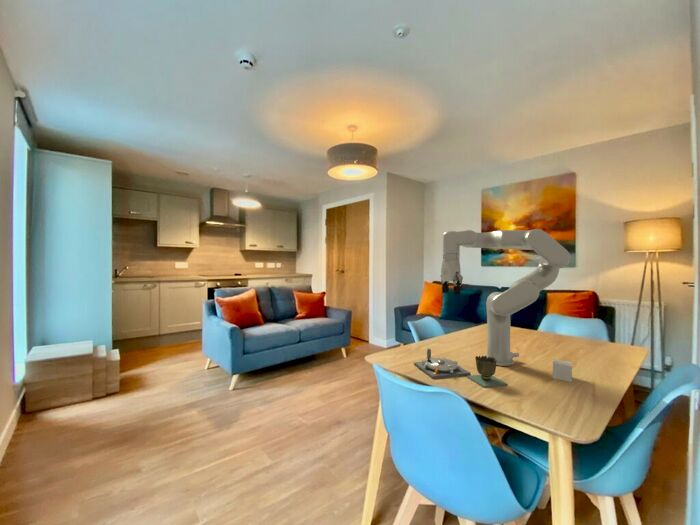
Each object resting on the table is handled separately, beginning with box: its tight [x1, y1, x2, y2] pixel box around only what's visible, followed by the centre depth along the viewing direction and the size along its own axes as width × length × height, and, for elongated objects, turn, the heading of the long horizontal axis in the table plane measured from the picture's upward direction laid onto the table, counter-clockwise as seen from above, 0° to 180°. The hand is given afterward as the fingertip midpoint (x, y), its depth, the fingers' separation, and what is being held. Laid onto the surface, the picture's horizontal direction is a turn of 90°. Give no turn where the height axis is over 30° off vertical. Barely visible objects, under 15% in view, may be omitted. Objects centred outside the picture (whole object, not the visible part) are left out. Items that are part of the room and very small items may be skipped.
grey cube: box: [552, 359, 573, 383], centre depth 118 cm, size 6×6×6 cm
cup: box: [475, 355, 497, 380], centre depth 115 cm, size 8×7×8 cm
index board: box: [413, 361, 471, 380], centre depth 127 cm, size 17×17×1 cm
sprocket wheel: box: [421, 348, 461, 373], centre depth 127 cm, size 15×15×6 cm
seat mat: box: [466, 374, 508, 388], centre depth 115 cm, size 10×10×1 cm
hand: (451, 293), depth 143 cm, fingers open, 9 cm apart
